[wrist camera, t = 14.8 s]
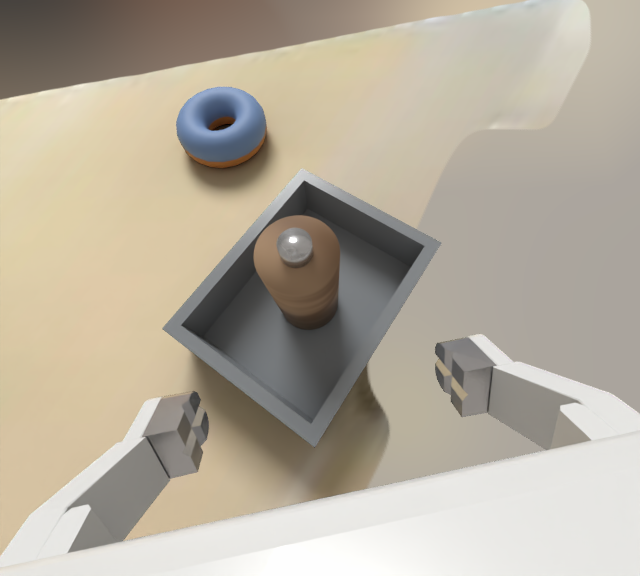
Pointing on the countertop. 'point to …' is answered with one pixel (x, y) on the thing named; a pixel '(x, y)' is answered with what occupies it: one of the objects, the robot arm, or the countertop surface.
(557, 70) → the countertop surface
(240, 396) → the countertop surface
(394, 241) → the bin
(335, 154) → the countertop surface
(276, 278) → the pepper mill
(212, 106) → the doughnut
